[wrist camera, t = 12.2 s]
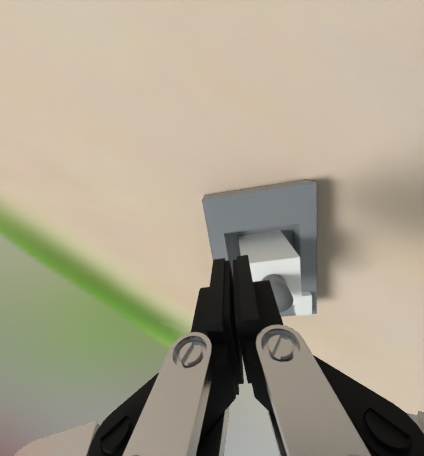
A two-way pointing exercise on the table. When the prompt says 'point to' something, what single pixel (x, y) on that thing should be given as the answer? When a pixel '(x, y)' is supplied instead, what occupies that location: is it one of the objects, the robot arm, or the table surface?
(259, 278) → the plug
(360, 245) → the table surface
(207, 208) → the socket plate
